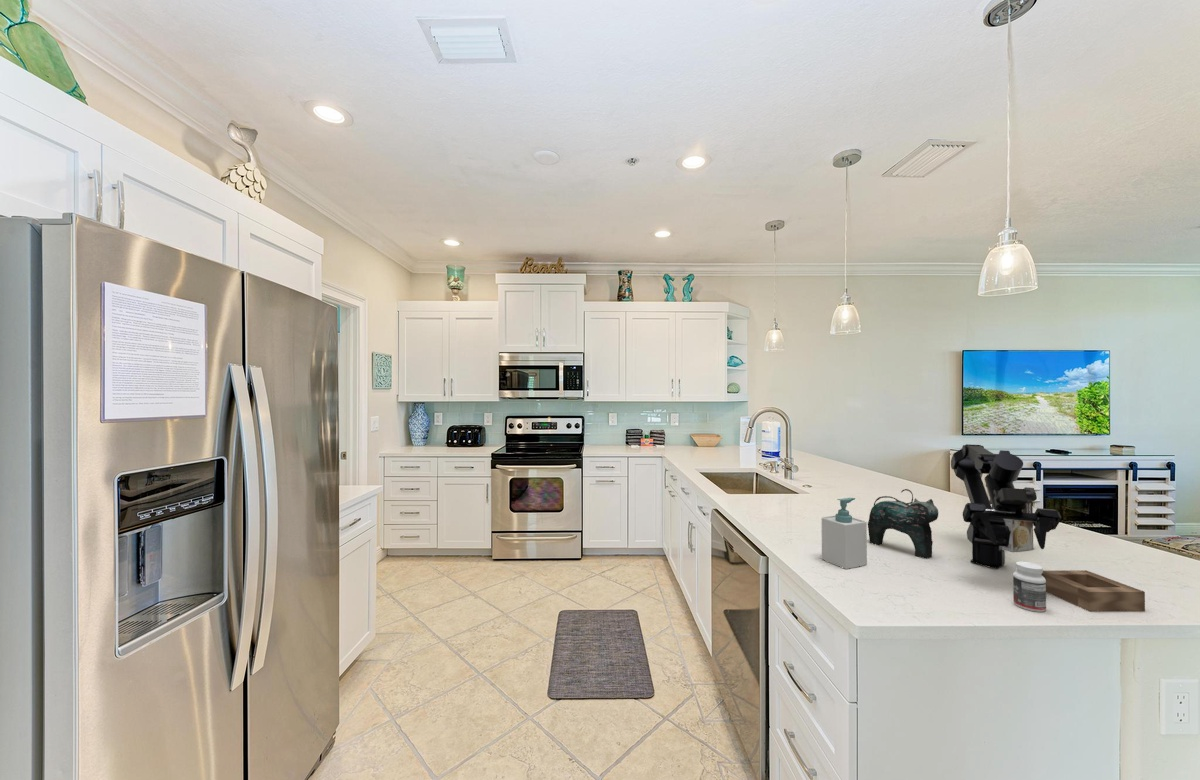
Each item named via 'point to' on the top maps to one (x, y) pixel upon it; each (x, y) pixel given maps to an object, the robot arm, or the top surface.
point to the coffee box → (1020, 532)
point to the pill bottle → (1029, 587)
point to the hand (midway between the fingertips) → (1018, 545)
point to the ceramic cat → (904, 522)
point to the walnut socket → (1093, 591)
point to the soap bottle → (844, 538)
